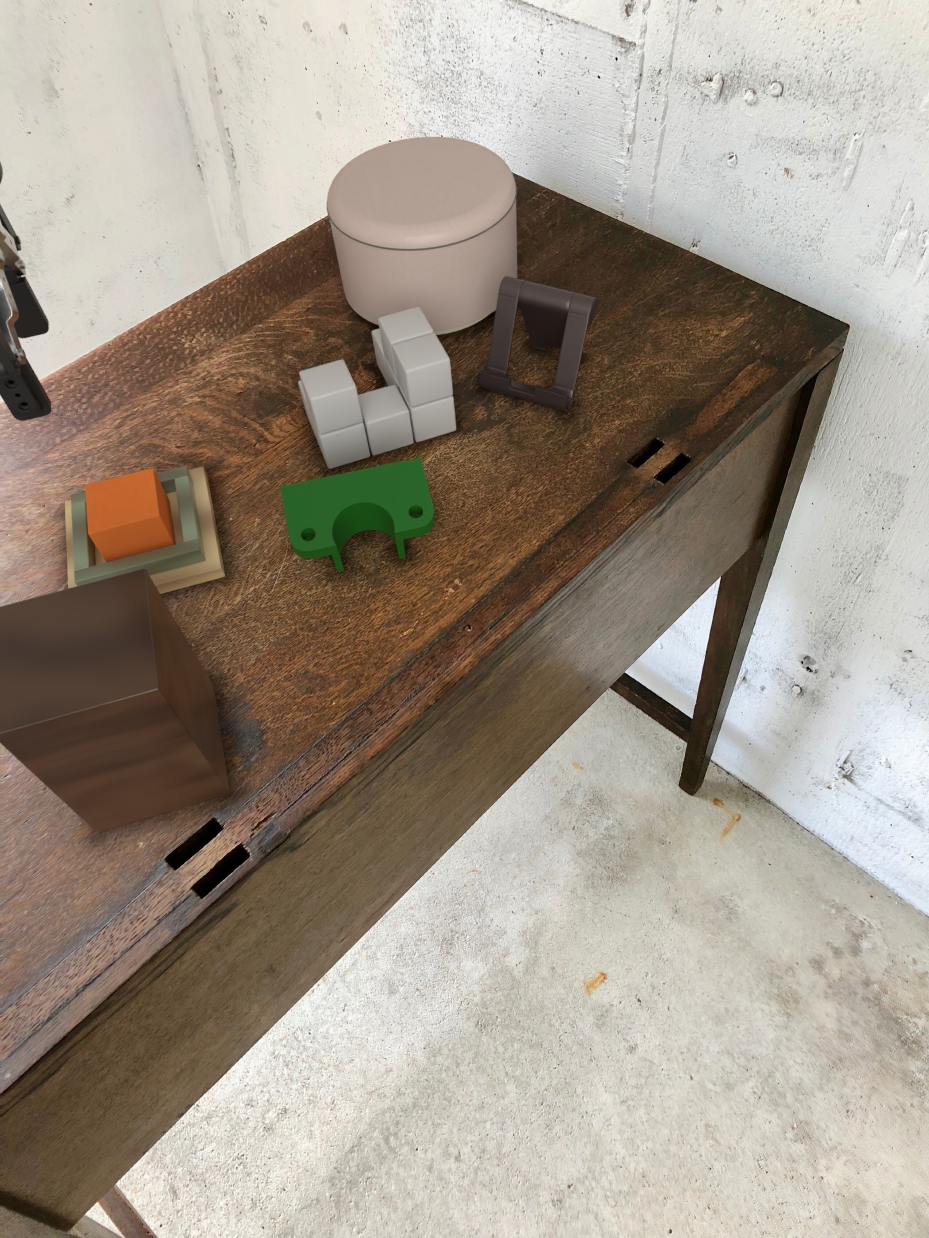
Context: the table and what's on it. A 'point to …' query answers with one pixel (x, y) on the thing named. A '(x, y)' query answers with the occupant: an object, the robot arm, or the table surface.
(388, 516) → the clamp
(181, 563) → the square tray
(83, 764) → the stand
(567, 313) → the tablet stand
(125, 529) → the orange square block
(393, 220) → the container
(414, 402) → the gray cube puzzle piece
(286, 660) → the table surface
